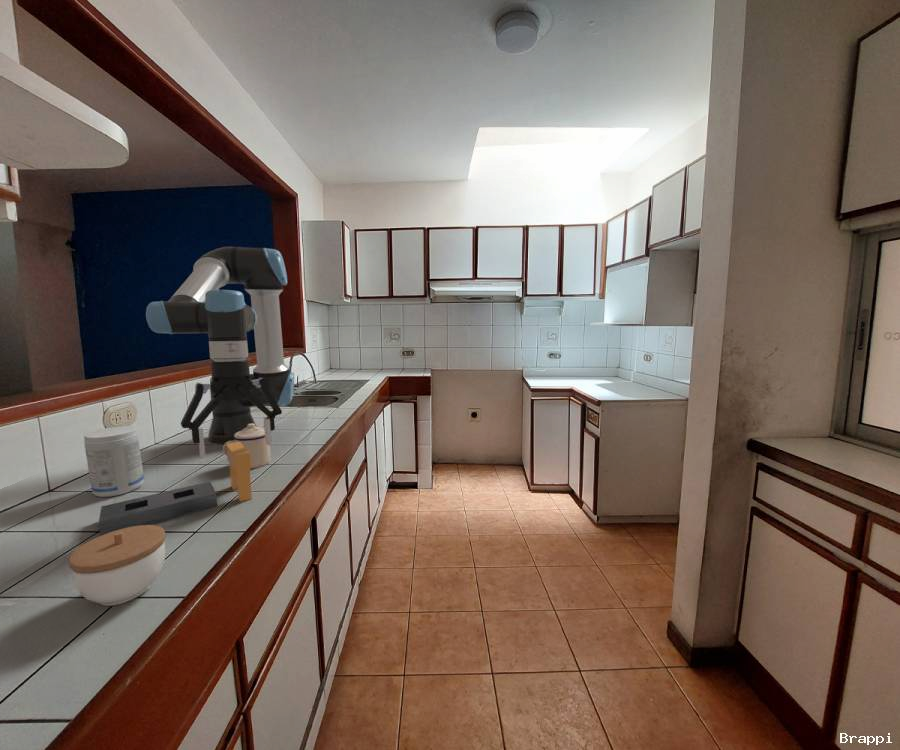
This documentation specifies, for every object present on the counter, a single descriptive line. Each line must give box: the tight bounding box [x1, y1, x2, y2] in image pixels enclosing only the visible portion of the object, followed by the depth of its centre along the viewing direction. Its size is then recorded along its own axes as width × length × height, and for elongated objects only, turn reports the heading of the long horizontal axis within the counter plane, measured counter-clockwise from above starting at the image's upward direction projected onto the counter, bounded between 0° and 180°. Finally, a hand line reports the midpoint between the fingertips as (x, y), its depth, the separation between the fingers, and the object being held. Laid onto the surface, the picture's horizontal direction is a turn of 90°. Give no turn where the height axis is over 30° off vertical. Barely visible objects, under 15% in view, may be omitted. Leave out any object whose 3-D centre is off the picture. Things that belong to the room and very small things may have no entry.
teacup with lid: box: [222, 423, 271, 469], centre depth 107 cm, size 12×9×12 cm
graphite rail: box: [98, 480, 218, 536], centre depth 80 cm, size 8×19×3 cm, turn 130°
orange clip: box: [226, 442, 253, 503], centre depth 89 cm, size 10×3×11 cm, turn 40°
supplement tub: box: [83, 425, 145, 498], centre depth 90 cm, size 10×10×15 cm
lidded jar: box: [68, 524, 167, 607], centre depth 56 cm, size 11×11×9 cm
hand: (237, 450), depth 88 cm, fingers open, 13 cm apart
